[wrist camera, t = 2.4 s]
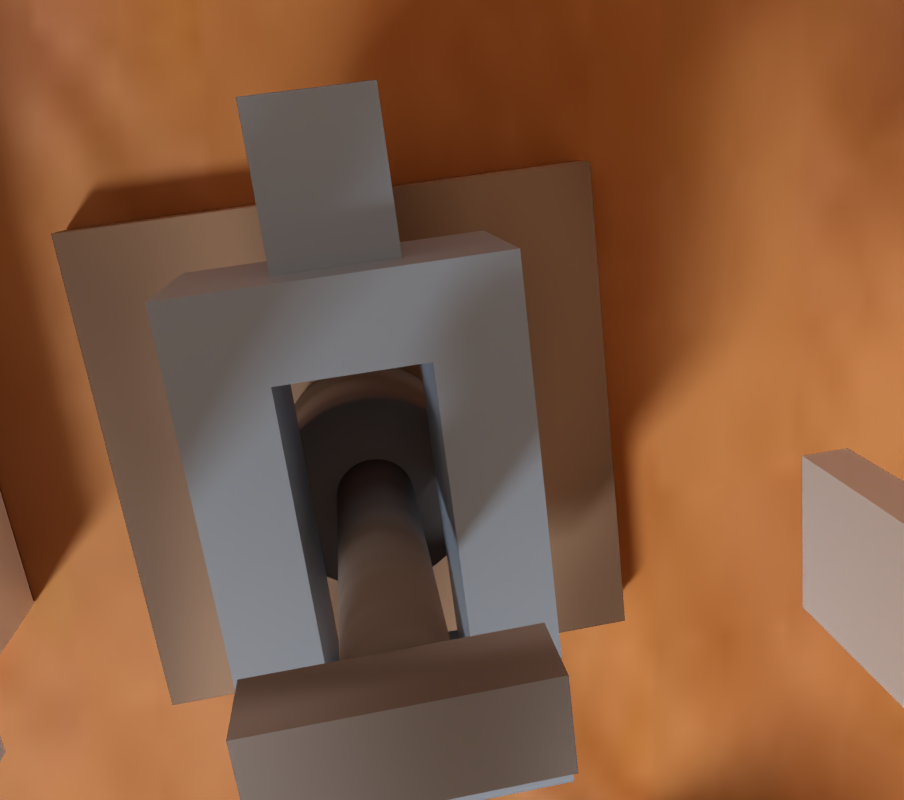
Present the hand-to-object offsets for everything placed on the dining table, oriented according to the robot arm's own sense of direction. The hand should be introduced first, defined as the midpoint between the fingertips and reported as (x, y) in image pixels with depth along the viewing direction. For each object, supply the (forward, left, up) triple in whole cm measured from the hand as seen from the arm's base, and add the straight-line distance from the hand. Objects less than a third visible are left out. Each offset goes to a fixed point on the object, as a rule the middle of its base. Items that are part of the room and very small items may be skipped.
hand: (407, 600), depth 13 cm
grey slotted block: (0, +1, -5) cm, 5 cm away
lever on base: (0, 0, -9) cm, 9 cm away
